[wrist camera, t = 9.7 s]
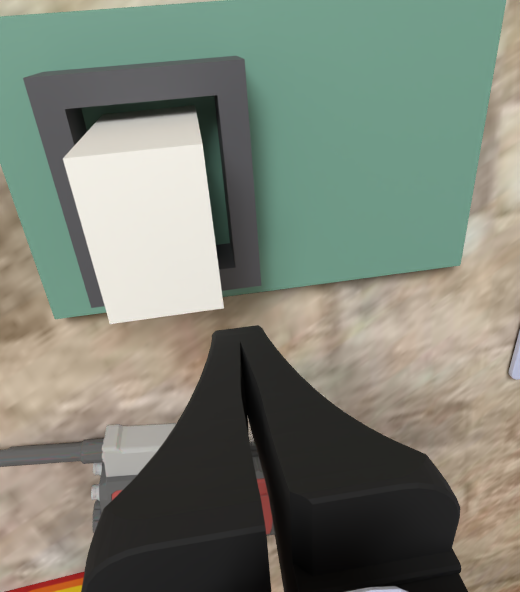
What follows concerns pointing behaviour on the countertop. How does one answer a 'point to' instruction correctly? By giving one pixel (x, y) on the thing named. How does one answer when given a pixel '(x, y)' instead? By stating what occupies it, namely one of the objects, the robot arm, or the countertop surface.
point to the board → (263, 129)
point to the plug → (147, 213)
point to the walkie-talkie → (117, 461)
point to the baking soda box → (56, 585)
